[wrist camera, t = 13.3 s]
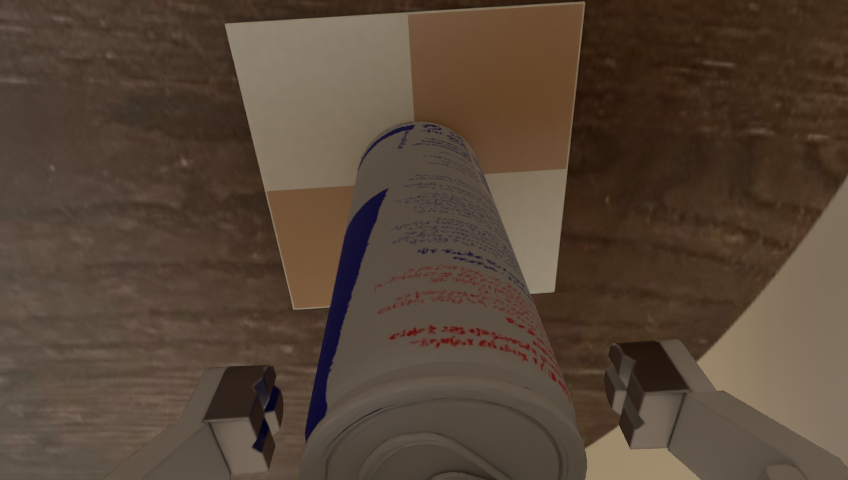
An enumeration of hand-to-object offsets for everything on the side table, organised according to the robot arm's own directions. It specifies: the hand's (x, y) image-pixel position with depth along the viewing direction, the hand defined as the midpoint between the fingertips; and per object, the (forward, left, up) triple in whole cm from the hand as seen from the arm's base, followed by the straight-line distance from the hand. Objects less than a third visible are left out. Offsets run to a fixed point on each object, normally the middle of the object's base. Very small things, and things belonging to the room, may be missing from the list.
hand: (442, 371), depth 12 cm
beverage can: (0, 0, -12) cm, 12 cm away
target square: (0, 0, -12) cm, 12 cm away
